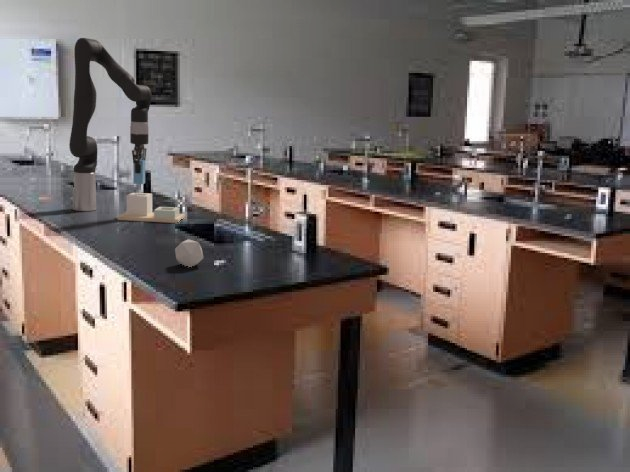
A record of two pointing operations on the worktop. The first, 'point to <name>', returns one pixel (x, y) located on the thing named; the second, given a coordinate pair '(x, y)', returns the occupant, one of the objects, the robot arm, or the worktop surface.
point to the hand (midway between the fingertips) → (139, 172)
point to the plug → (139, 174)
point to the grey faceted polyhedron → (189, 253)
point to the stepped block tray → (148, 210)
